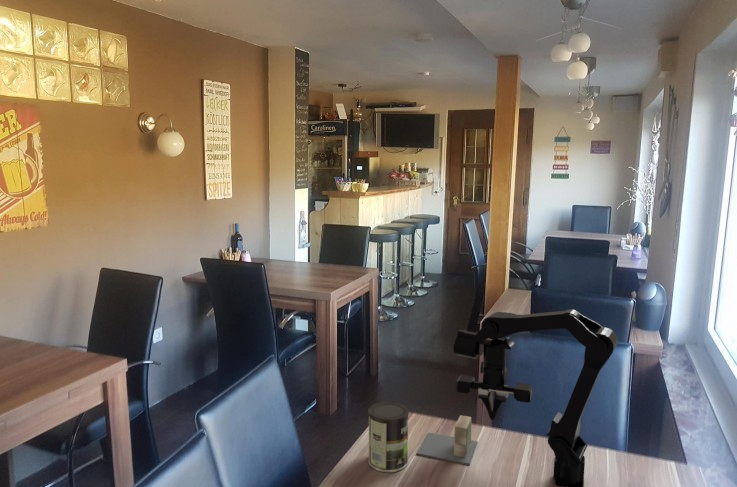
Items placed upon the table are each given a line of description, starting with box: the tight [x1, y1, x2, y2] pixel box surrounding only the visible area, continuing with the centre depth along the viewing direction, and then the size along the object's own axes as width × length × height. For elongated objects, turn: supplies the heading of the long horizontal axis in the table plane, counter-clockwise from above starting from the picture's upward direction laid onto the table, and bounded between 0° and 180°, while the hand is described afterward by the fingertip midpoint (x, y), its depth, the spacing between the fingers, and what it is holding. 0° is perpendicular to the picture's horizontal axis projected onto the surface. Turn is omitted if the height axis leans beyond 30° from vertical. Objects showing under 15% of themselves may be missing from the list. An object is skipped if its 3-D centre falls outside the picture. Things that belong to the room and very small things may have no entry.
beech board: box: [454, 414, 472, 457], centre depth 144 cm, size 3×7×8 cm, turn 159°
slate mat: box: [416, 431, 479, 466], centre depth 146 cm, size 14×12×1 cm
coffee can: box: [367, 401, 410, 473], centre depth 139 cm, size 10×10×14 cm
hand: (492, 419), depth 140 cm, fingers closed
